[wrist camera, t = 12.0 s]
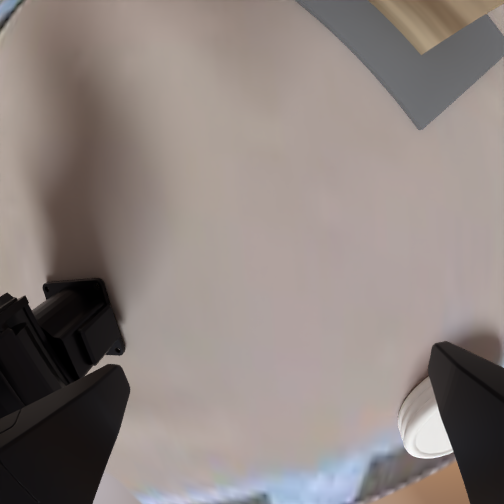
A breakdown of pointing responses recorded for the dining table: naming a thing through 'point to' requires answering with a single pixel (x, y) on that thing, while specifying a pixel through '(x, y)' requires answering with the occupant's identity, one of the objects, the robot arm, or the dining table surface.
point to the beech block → (432, 18)
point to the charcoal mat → (412, 55)
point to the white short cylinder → (423, 424)
